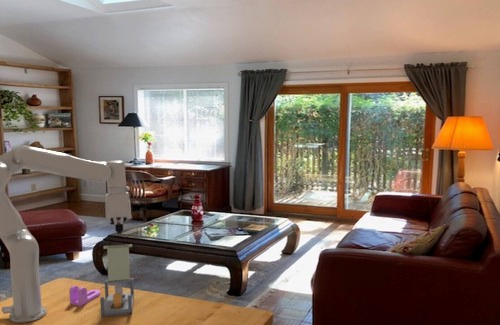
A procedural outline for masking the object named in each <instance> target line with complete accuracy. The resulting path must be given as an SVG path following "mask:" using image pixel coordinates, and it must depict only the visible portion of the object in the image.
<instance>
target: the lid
mask: <svg viewBox="0 0 500 325" xmlns="http://www.w3.org/2000/svg"><path fill="white" fill-rule="evenodd" d="M132 247H133V244H132V243H131V244H117V245H104V246H103V250H106V249H107V278H108V279H107V280H108V284H118V283H130V278H131V277H130V276H131V274H130V248H132Z"/></svg>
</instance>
